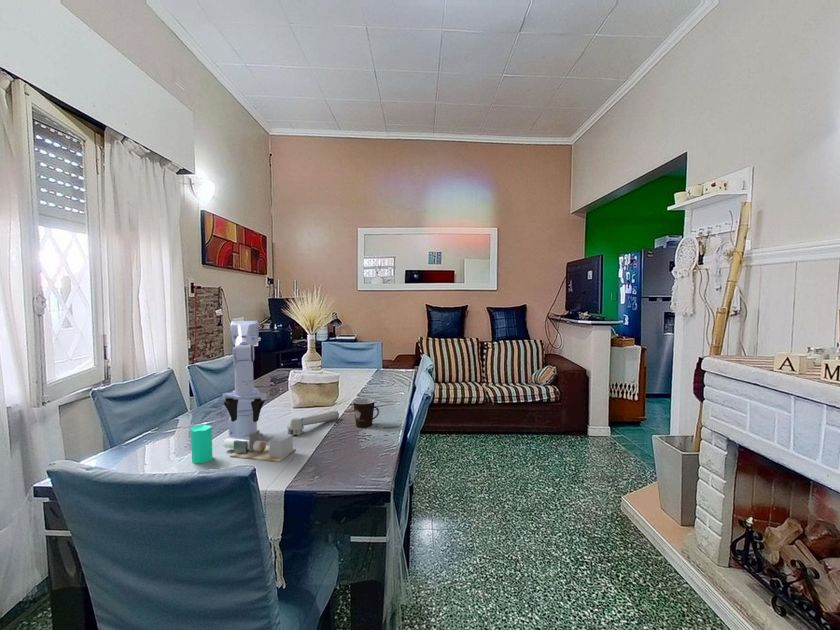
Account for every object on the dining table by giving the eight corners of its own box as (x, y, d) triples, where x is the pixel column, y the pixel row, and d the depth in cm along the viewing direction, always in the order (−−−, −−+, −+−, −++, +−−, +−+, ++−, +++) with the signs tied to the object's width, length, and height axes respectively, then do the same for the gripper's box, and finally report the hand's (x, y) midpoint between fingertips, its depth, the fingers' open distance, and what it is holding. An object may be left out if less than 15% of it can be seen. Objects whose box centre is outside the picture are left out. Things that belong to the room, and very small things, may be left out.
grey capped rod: (340, 410, 173) (295, 418, 151) (339, 426, 172) (293, 436, 151) (331, 409, 175) (285, 415, 154) (330, 424, 175) (283, 433, 153)
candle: (189, 459, 131) (188, 422, 130) (209, 454, 135) (208, 418, 134) (194, 465, 126) (193, 427, 126) (215, 459, 131) (214, 422, 130)
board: (229, 456, 133) (229, 455, 133) (249, 445, 143) (249, 444, 143) (278, 462, 129) (278, 460, 129) (295, 450, 138) (295, 448, 138)
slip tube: (223, 449, 137) (222, 431, 137) (231, 445, 141) (230, 427, 141) (259, 453, 134) (259, 434, 133) (266, 449, 138) (266, 430, 137)
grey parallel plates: (233, 452, 135) (233, 441, 135) (245, 446, 141) (245, 435, 140) (245, 454, 134) (245, 442, 134) (256, 447, 140) (256, 436, 139)
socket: (269, 456, 131) (269, 440, 131) (281, 449, 138) (280, 433, 137) (281, 458, 130) (281, 441, 130) (292, 450, 137) (292, 434, 136)
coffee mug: (350, 424, 166) (350, 399, 166) (370, 421, 170) (370, 397, 170) (359, 432, 156) (359, 406, 156) (380, 429, 160) (380, 404, 160)
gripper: (216, 382, 133) (217, 424, 133) (258, 383, 131) (259, 425, 132) (228, 378, 140) (229, 417, 140) (269, 379, 138) (270, 418, 139)
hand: (245, 421), depth 137 cm, fingers open, 7 cm apart
